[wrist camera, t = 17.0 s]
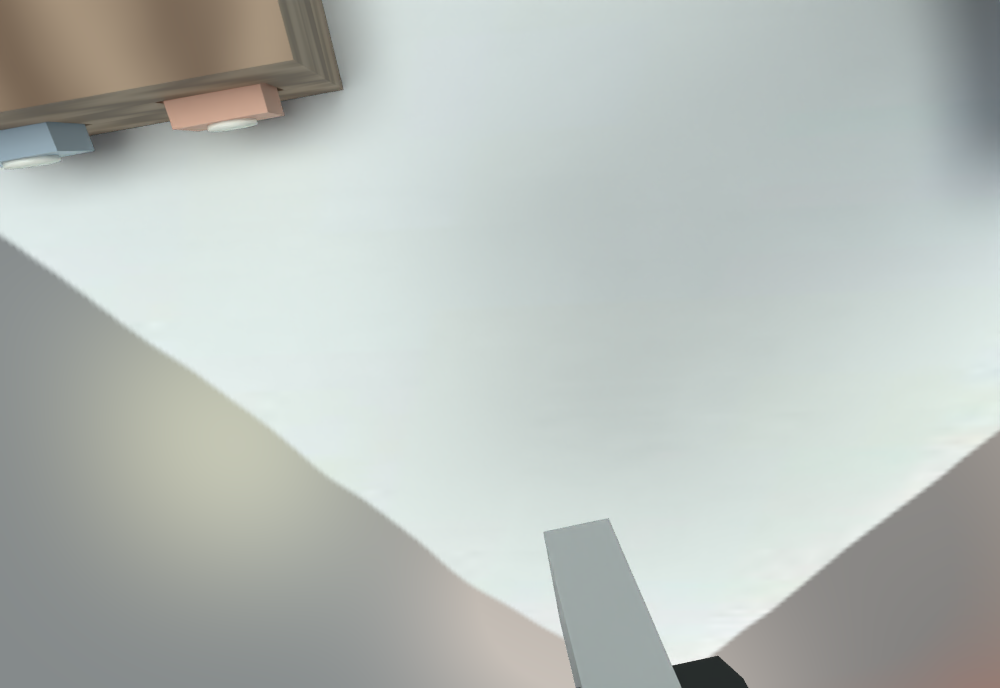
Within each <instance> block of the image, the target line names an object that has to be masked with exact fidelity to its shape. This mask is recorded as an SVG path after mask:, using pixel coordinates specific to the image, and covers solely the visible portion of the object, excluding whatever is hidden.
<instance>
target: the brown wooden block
mask: <svg viewBox="0 0 1000 688" xmlns="http://www.w3.org/2000/svg"><path fill="white" fill-rule="evenodd" d="M260 83H266V84H269V85H271V86H274V87H277V90H278V94H279V97H280V101H284V100H289V99H295V98H300V97H306V96H311V95H317V94H322V93H328V92H333V91H339V90H343V86H342V82H341V78H340V74H339V70H338V66H337V62H336V57H335V53H334V49H333V45H332V41H331V37H330V33H329V29H328V25H327V21H326V17H325V12H324V8H323V4H322V0H0V130H4V129H10V128H15V127H21V126H26V125H32V124H38V123H43V122H62V123H77V124H85V126H86V129H87V132H88V134H89V136H91V135H96V134H102V133H107V132H113V131H118V130H124V129H129V128H135V127H140V126H146V125H151V124H157V123H162V122H168V121H170V120H169V117H168V114H167V111H166V108H165V105H164V102H163V101H165V100H171V99H177V98H182V97H188V96H193V95H199V94H204V93H210V92H215V91H221V90H227V89H232V88H238V87H243V86H249V85H254V84H260Z"/></svg>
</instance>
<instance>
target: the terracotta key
mask: <svg viewBox="0 0 1000 688" xmlns="http://www.w3.org/2000/svg"><path fill="white" fill-rule="evenodd" d="M163 102H164V105H165V108H166V111H167V114H168V117H169V120H170V123H171V126H172V129H173V130H188V131H203V130H208V132H221V131H229V130H236V129H242V128H247V127H251V126H255V125H257V124H258V123H257V121H258V120H263V119H269V118H274V117H280V116H285V115H284V112H283V108H282V105H281V101H280V97H279V94H278V90H277V87H274V86H271V85H269V84H266V83H260V84H254V85H249V86H243V87H238V88H232V89H227V90H221V91H215V92H210V93H204V94H199V95H193V96H188V97H182V98H177V99H171V100H165V101H163Z"/></svg>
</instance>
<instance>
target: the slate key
mask: <svg viewBox="0 0 1000 688" xmlns="http://www.w3.org/2000/svg"><path fill="white" fill-rule="evenodd" d="M91 151H95V150H94V147H93V144H92V142H91V139H90V137H89V134H88V132H87V129H86V126H85V124H77V123H62V122H43V123H38V124H32V125H26V126H21V127H15V128H10V129H4V130H0V167H4V169H20V168H28V167H35V166H42V165H48V164H53V163H57V162H61V159H60V157H64V156H69V155H75V154H80V153H86V152H91Z"/></svg>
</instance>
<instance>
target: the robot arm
mask: <svg viewBox="0 0 1000 688" xmlns="http://www.w3.org/2000/svg"><path fill="white" fill-rule="evenodd" d="M544 538H545V543H546V548H547V554H548V559H549V564H550V570H551V575H552V580H553V586H554V591H555V596H556V601H557V607H558V612H559V617H560V623H561V627H562V632H563V636H564V640H565V644H566V648H567V653H568V657H569V660H570V665H571V669H572V674H573V677H574V682H575V686H576V688H748V687H747V685H746V683H745V681H744V679H743V678H742V677H741V676H740V675H739V674H738V673H736V672H735V671H734V670H733V669H732V668H731V667H730V666H729V665H728V664H726V663H725V662H724V661H723V660H722V659H721V658H720V657H719V656H715V657H710V658H705V659H701V660H696V661H692V662H687V663H682V664H678V665H673V666H672V665H671V662H670V660H669V658H668V655H667V653H666V651H665V648H664V646H663V644H662V641H661V639H660V637H659V634H658V632H657V630H656V627H655V625H654V623H653V620H652V618H651V616H650V614H649V611H648V609H647V607H646V604H645V602H644V600H643V597H642V595H641V593H640V590H639V588H638V586H637V583H636V581H635V579H634V576H633V574H632V572H631V570H630V567H629V565H628V563H627V560H626V558H625V556H624V553H623V551H622V549H621V546H620V544H619V542H618V539H617V537H616V535H615V532H614V530H613V528H612V525H611V523H610V521H609V519H603V520H598V521H593V522H589V523H584V524H579V525H574V526H569V527H565V528H560V529H555V530H550V531H546V532H544Z"/></svg>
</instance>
